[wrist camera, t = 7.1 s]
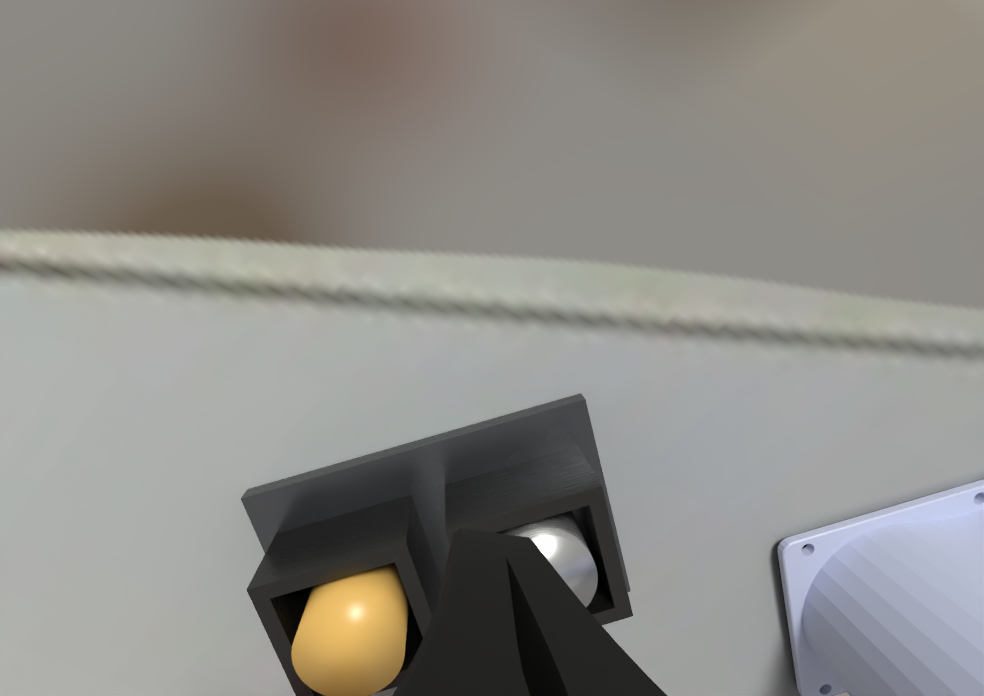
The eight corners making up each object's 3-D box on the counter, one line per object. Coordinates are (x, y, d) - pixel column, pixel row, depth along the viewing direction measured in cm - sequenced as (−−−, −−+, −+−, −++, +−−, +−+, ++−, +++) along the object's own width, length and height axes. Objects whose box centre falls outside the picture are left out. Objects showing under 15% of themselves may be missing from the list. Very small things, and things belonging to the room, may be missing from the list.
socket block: (580, 393, 19) (610, 432, 15) (625, 580, 21) (660, 649, 17) (247, 489, 18) (204, 549, 15) (326, 669, 20) (303, 756, 17)
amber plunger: (394, 531, 18) (384, 593, 15) (422, 608, 19) (418, 680, 16) (301, 558, 18) (274, 625, 15) (333, 634, 19) (314, 711, 16)
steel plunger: (562, 474, 18) (585, 523, 16) (582, 551, 19) (607, 611, 16) (473, 500, 18) (479, 554, 15) (497, 576, 19) (507, 641, 16)
